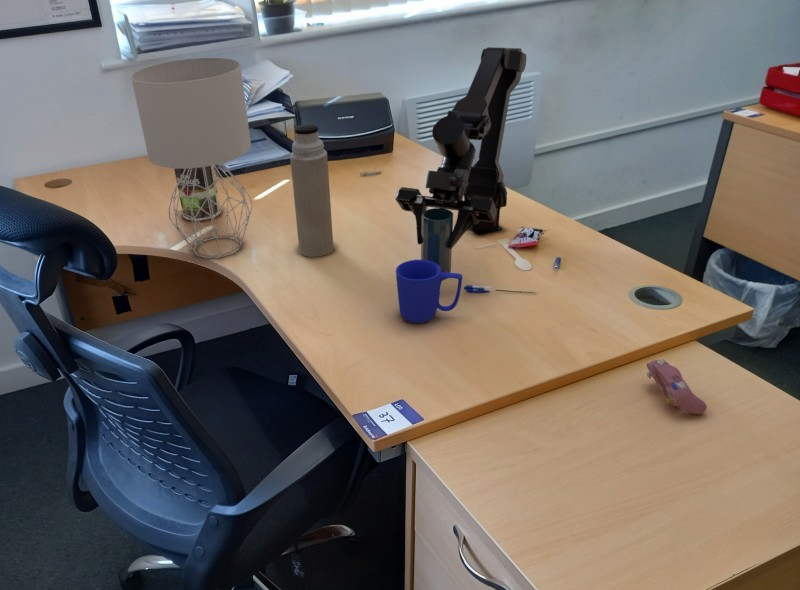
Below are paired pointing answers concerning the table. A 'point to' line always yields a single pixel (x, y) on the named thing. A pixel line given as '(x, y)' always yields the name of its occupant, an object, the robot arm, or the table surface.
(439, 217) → the pencil cup
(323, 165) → the thermos bottle
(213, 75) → the table lamp
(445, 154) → the robot arm
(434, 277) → the mug
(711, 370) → the table surface
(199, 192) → the coffee can
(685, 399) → the toy shoe
